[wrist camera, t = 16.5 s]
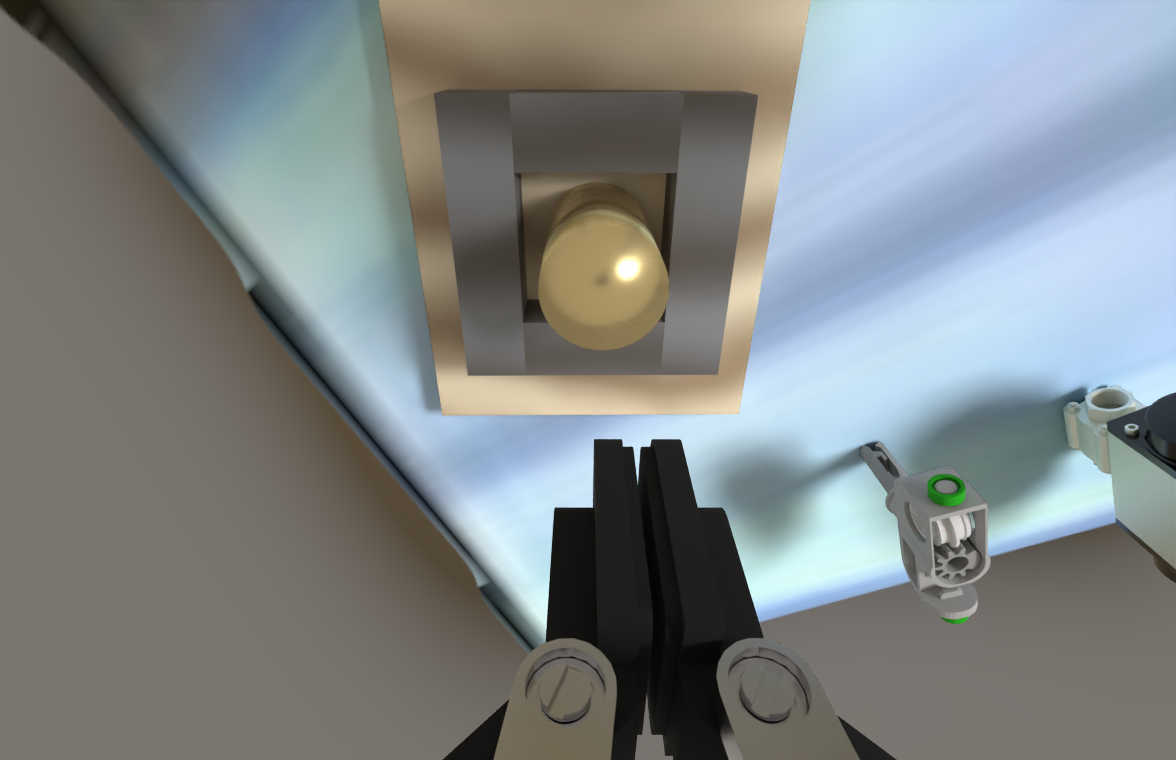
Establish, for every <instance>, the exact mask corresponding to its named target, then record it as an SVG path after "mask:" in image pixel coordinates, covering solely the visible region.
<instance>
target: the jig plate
mask: <svg viewBox="0 0 1176 760" xmlns="http://www.w3.org/2000/svg"><path fill="white" fill-rule="evenodd" d="M810 1H811V0H379V7H380V13H381V20H382V26H383V33H384V39H385V46H386V52H387V59H388V65H389V72H390V78H391V85H392V91H393V98H394V104H395V111H396V117H397V124H398V130H399V137H400V143H401V149H402V156H403V162H404V169H405V175H406V182H407V188H408V195H409V201H410V208H411V214H412V221H413V227H414V234H415V240H416V247H417V253H418V260H419V266H420V273H421V279H422V286H423V292H424V299H425V305H426V312H427V318H428V325H429V331H430V338H431V344H432V351H433V357H434V364H435V370H436V377H437V383H438V390H439V396H440V403H441V409H442V415H619V414H739V409H740V403H741V398H742V392H743V386H744V380H745V375H746V369H747V363H748V357H749V352H750V346H751V340H752V334H753V329H754V323H755V317H756V311H757V306H758V300H759V294H760V288H761V283H762V277H763V271H764V265H765V260H766V254H767V248H768V242H769V236H770V231H771V225H772V219H773V213H774V208H775V202H776V196H777V190H778V185H779V179H780V173H781V167H782V162H783V156H784V150H785V144H786V139H787V133H788V127H789V121H790V116H791V110H792V104H793V98H794V93H795V87H796V81H797V75H798V70H799V64H800V58H801V52H802V47H803V41H804V35H805V29H806V24H807V18H808V12H809V6H810ZM590 182H605V183H610V184H614V185H616V186H618V187H620V188H622V189H624V190H626V191H627V192H628V193H629V194H631V195H632V197H633V198H634V199H635V200H636V201H637V203H638V204H639V205H640V207H641V209H642V211H643V214H644V216H645V218H646V221H647V223H648V226H649V228H650V230H651V233H652V235H653V238H654V240H655V242H656V245H657V247H658V250H659V252H660V254H661V257H662V259H663V262H664V264H665V267H666V269H667V273H668V278H669V296H668V301H667V305H666V308H665V310H664V312H663V314H662V316H661V318H660V320H659V321H658V323H657V324H656V325H655V326H654V328H653V329H652V330H651V331H650V332H649V333H647V334H646V335H645V336H644V337H642V338H641V339H639V340H638V341H636V342H634V343H632V344H630V345H627V346H625V347H622V348H618V349H612V350H592V349H587V348H583V347H580V346H577V345H575V344H573V343H571V342H569V341H567V340H566V339H564V338H563V337H561V336H560V335H559V334H558V333H557V332H556V331H555V330H554V329H553V328H552V327H551V326H550V324H549V323H548V321H547V320H546V318H545V316H544V314H543V312H542V309H541V306H540V301H539V295H538V285H539V277H540V271H541V265H542V259H543V253H544V246H545V240H546V234H547V228H548V223H549V218H550V215H551V213H552V210H553V209H554V207H555V205H556V204H557V202H558V201H559V200H560V199H561V197H562V196H563V195H565V194H566V193H567V192H568V191H570V190H571V189H573V188H575V187H577V186H579V185H582V184H585V183H590Z"/></svg>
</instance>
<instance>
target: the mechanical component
mask: <svg viewBox="0 0 1176 760" xmlns="http://www.w3.org/2000/svg"><path fill="white" fill-rule="evenodd" d="M875 447H876V451H872V450H871V449H870V448H869V447H868V446H863V447H862V448H861V451H860V454H861V456H862V458H863V459H864V460H865V462H866V463H867V465H868V466H869V468H870V469H871V470H872V472H873V473H874V475H875V476H876V477H877V479H878V480H879V482H880V483H881V484H882V486H883V487H884V489H885V490H886V492H887V493H888V495H887V497H886V507H887V509H888V510H889V511H890V512H891V513H893V514H894V515H895V516H896V517H897V519H898V528H899V536H900V545H901V554H902V561H903V564H904V567H905V570H906V572H907V575H908V577H909V579H910V581H911V583H912V584H913V586H914V588H915V589H916V591H917V592H918V594H919V596H920V597H921V599H922V600H923V602H924V604H925V605H926V606H927V608H928V609H929V610H930V611H931V612H933V613H934V614H936V615H938V616H940V617H941V618H942V619H943V620H945V621H946V622H949V623H953V624H960V623H963V622H965V621H966V620H967V619H968V617H969V616H970V615H972V614H973V613H974V612H975V611H976V609H977V605H978V602H977V601H978V599H977V592H976V590H975V589H974V587H973V586H972V584H971V583H972V582H974V581H976V580H977V579H979V578H980V577H982V576H983V575H984V574H985V572H987V570H988V568H989V566H990V561H991V560H990V557H989V555H988V503H987V502H986V501H985V500H984V499H983V498H982V497H981V496H980V495H979V494H978V492H977V491H976V490H975V489H974V488H973V487H972V486H971V485H970V484H969V483H968V481H965V480H964V479H963V478H962V477H961V476H960V475H959V474H958V473H957V471H956V470H955V469H954V468H952V467H951V466H944V467H940V468H936V469H933V470H929V471H925V472H921V473H918V474H914V475H910V476H908V475H907V474H906V473H905V471H904V470H903V469H902V468H901V466H900V465H899V464H898V462H897V461H896V460H895V459H894V457H893V456H892V455H891V454H890V452H889V451H888V450H887V448H886V447H885V446H884V445H883V443H881V442H880V441H879V442H878V443H877V444H876V445H875ZM888 471H889V472H888ZM969 512H972V514H973V517H974V521H975V529H974V528H973V527H971V519H970V516H969Z"/></svg>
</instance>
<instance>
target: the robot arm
mask: <svg viewBox="0 0 1176 760" xmlns="http://www.w3.org/2000/svg"><path fill="white" fill-rule="evenodd" d="M646 694H647V698H648V709H649V719H650V728H651V733H652V735H663V741H664V749H665V755H666V756H673V760H896V759H895V758H893V757H892V756H891V755H889V754H888V753H887V752H885V751H884V750H883V749H881V748H880V747H878V746H877V745H876V744H875V743H873V742H872V741H871V740H869V739H868V738H867V737H865V736H864V735H863V734H861V733H860V732H859V731H857V730H856V729H855V728H853V727H852V726H851V725H849V724H848V723H847V722H845V721H844V720H842V719H841V718H840V717H838V716H837V715H836V713H835V711H834V709H833V707H832V705H831V703H830V701H829V699H828V697H827V695H826V694H825V692H824V690H823V688H822V686H821V684H820V682H819V680H818V678H817V677H816V675H815V674H814V672H813V671H812V669H811V668H810V666H809V665H808V663H807V662H805V661H804V660H803V659H802V658H801V657H800V656H799V655H798V654H797V653H796V652H794V651H793V650H791V649H789V648H788V647H786V646H784V645H782V644H781V643H779V642H775V641H771V640H768V639H764V637H763V634H762V631H761V627H760V624H759V621H758V617H757V614H756V611H755V608H754V604H753V601H752V598H751V594H750V591H749V588H748V584H747V581H746V578H745V574H744V571H743V568H742V564H741V561H740V558H739V554H738V551H737V548H736V544H735V541H734V538H733V535H732V531H731V528H730V525H729V521H728V518H727V515H726V513H725V511H724V509H723V508H697V503H696V499H695V495H694V491H693V487H692V483H691V479H690V475H689V471H688V466H687V462H686V458H685V454H684V450H683V446H682V442H681V440H680V439H652V441H651V446H650V447H641V450H640V464H639V478H638V484H637V476H636V467H635V459H634V451H633V447H623V444H622V439H594V474H593V508H555V510H554V521H553V537H552V552H551V568H550V583H549V599H548V615H547V630H546V643H544V644H542V645H540V646H539V647H537V648H536V649H534V650H533V651H531V653H530V654H529V655H528V656H527V657H526V658H525V660H524V661H523V662H522V663H521V665H520V667H519V670H518V672H517V674H516V677H515V680H514V683H513V688H512V691H511V695H510V699H509V700H508V701H507V702H506V703H505V704H503V705H502V706H501V707H500V708H499V709H498V710H497V711H496V712H495V713H494V714H492V716H490V717H489V718H488V719H487V720H486V721H485V722H484V723H483V724H482V725H480V726H479V727H478V728H477V729H476V730H475V731H474V732H473V733H472V734H471V735H470V736H468V737H467V738H466V739H465V740H464V741H463V742H462V743H461V744H459V745H458V746H457V747H456V748H455V749H454V750H453V751H452V752H451V753H450V754H449V755H447V756H446V757H445V758H444V759H443V760H635V752H636V751H635V750H636V742H637V735H642V730H643V720H644V712H645V702H646Z"/></svg>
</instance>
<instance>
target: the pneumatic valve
mask: <svg viewBox="0 0 1176 760" xmlns="http://www.w3.org/2000/svg"><path fill="white" fill-rule="evenodd" d="M1063 412H1064V419H1065V426H1066V433H1067V440H1068V445H1069V446H1070V447H1072V448H1074V449H1077V450H1081V451H1082V452H1083V454H1085V455H1086V456H1087V457H1088V458H1089V459H1091V460H1093V463H1094V464H1095V465H1097V466H1098V469H1099V470H1100V471H1102V472H1104V473H1107V474H1111V475H1112V486H1113V496H1114V507H1115V518H1116V524H1117V525H1118V526H1120V527H1121V528H1122V529H1123V530H1124V531H1125V532H1126V533H1128V534H1129V535H1130V536H1131V537H1132V538H1133V539H1135V540H1136V541H1137V542H1138V543H1139V544H1140V545H1141V546H1142V547H1144V548H1145V549H1146V550H1147V551H1148V552H1149V553H1150V554H1152V558H1153V561H1154V563H1155V565H1156V566H1157V568H1158V569H1159V570H1160V572H1162V573H1163V574H1164V575H1165V576H1166V577H1167V578H1169V579H1170V580H1172V581H1173V582H1175V583H1176V393H1172V394H1169V395H1167V396H1164V397H1162V398H1160V399H1158V400H1157V401H1156V402H1154V403H1153V404H1152V405H1150V406H1148V407H1145V406H1144V405H1143V404H1142V403H1141V402H1139V401H1137V400H1136V399H1134V397H1133V394H1132V393H1131V392H1129V391H1126V390H1124V389H1122V388H1121V386H1117V385H1113V386H1111V387H1109V388H1101V389H1097V390H1094V391H1092V392H1090V393H1089V394H1087V395H1086V396H1085V401H1083V402H1081V403H1080V404H1079V403H1077V402H1069V403H1067V405H1066V406H1065V407H1064V408H1063Z"/></svg>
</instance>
